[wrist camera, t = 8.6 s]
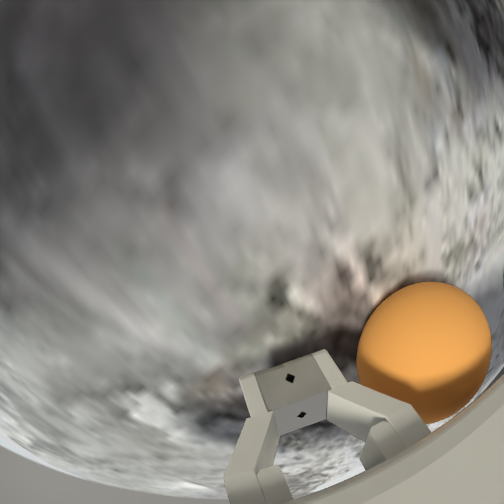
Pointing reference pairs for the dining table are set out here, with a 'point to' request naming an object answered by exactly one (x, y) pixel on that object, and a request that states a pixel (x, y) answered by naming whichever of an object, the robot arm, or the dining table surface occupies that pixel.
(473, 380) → the orange ball
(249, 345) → the dining table surface
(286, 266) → the dining table surface
